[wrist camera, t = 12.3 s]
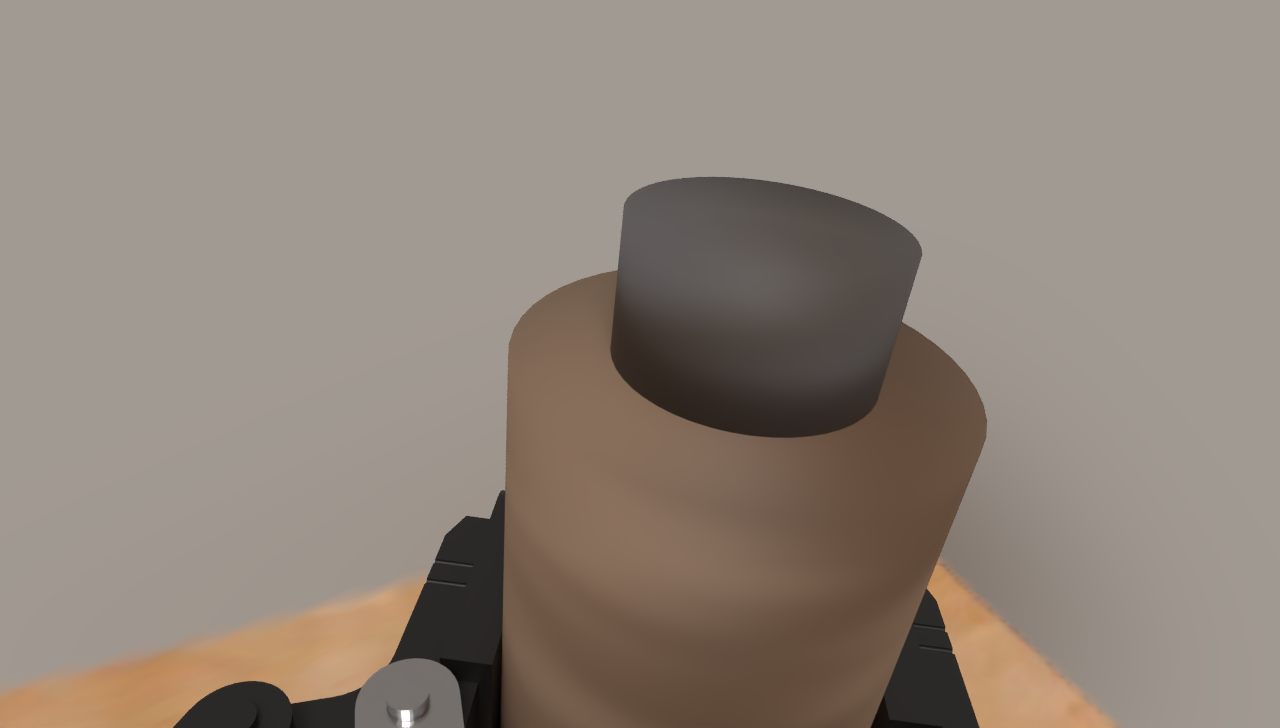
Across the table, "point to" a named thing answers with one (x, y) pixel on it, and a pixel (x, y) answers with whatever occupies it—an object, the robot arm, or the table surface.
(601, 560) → the pepper mill
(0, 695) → the table surface
